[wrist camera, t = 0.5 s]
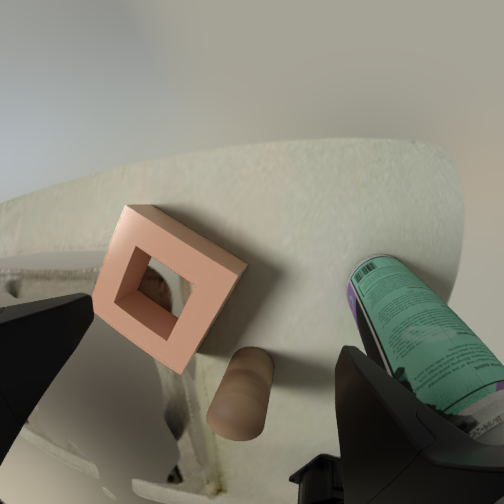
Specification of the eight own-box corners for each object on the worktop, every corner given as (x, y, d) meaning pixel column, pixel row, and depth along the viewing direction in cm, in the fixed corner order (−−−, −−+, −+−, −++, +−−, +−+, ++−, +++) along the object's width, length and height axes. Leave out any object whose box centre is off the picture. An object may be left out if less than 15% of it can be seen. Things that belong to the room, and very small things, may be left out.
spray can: (337, 309, 22) (377, 565, 3) (356, 246, 21) (509, 485, 2) (394, 321, 22) (486, 530, 3) (415, 262, 20) (586, 438, 1)
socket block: (195, 352, 25) (180, 374, 21) (113, 295, 26) (88, 307, 22) (248, 264, 23) (238, 275, 19) (150, 204, 24) (125, 204, 20)
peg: (260, 389, 25) (245, 448, 17) (223, 369, 25) (197, 423, 17) (282, 360, 24) (275, 418, 16) (244, 338, 24) (221, 391, 16)
